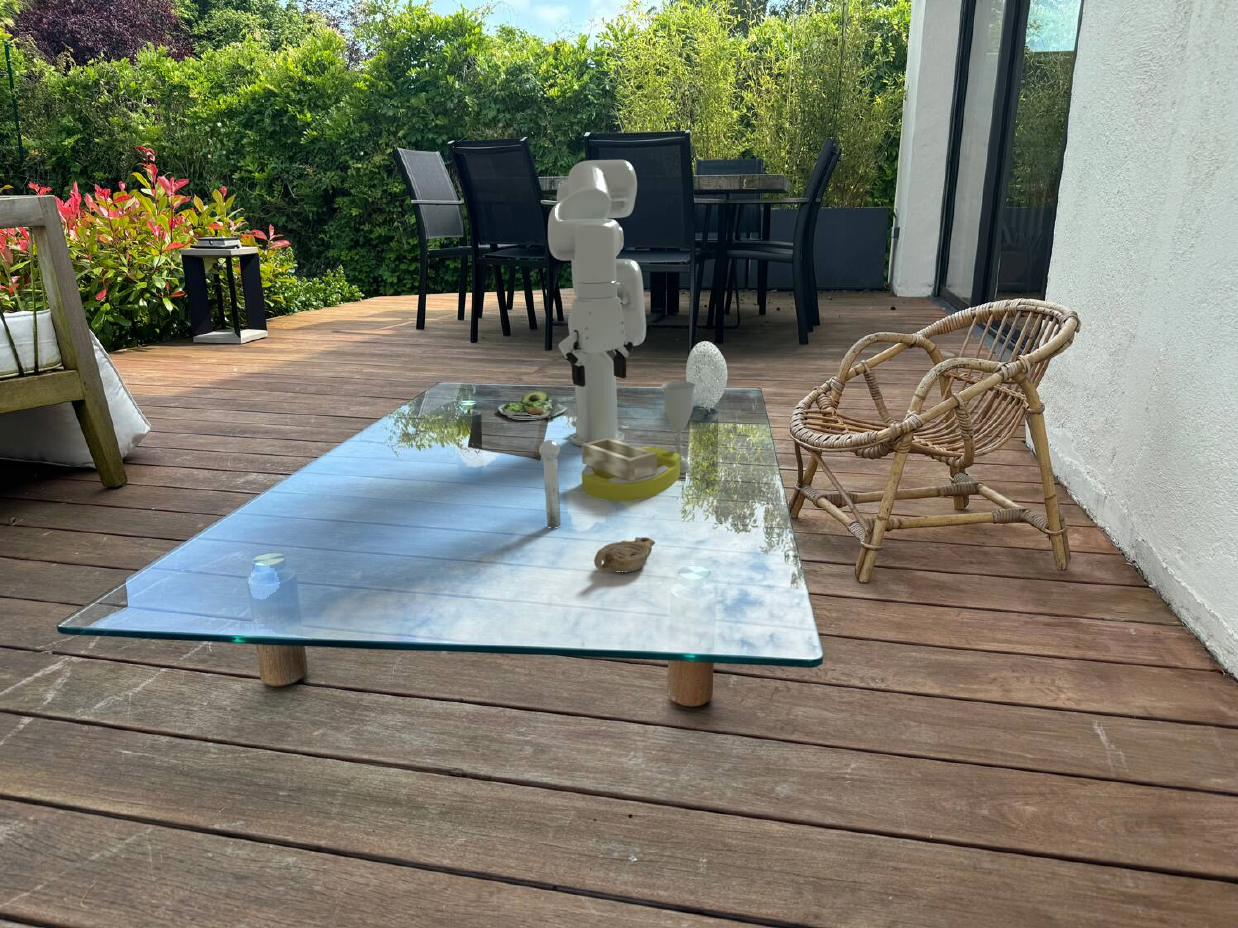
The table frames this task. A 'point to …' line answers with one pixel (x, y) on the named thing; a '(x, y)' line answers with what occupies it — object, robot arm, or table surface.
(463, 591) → the table surface
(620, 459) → the link
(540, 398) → the salad plate
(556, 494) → the silver metal pin
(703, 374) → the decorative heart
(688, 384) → the chalice
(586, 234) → the robot arm
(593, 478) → the yellow-green spoked oval frame
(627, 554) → the oil lamp
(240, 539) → the table surface
